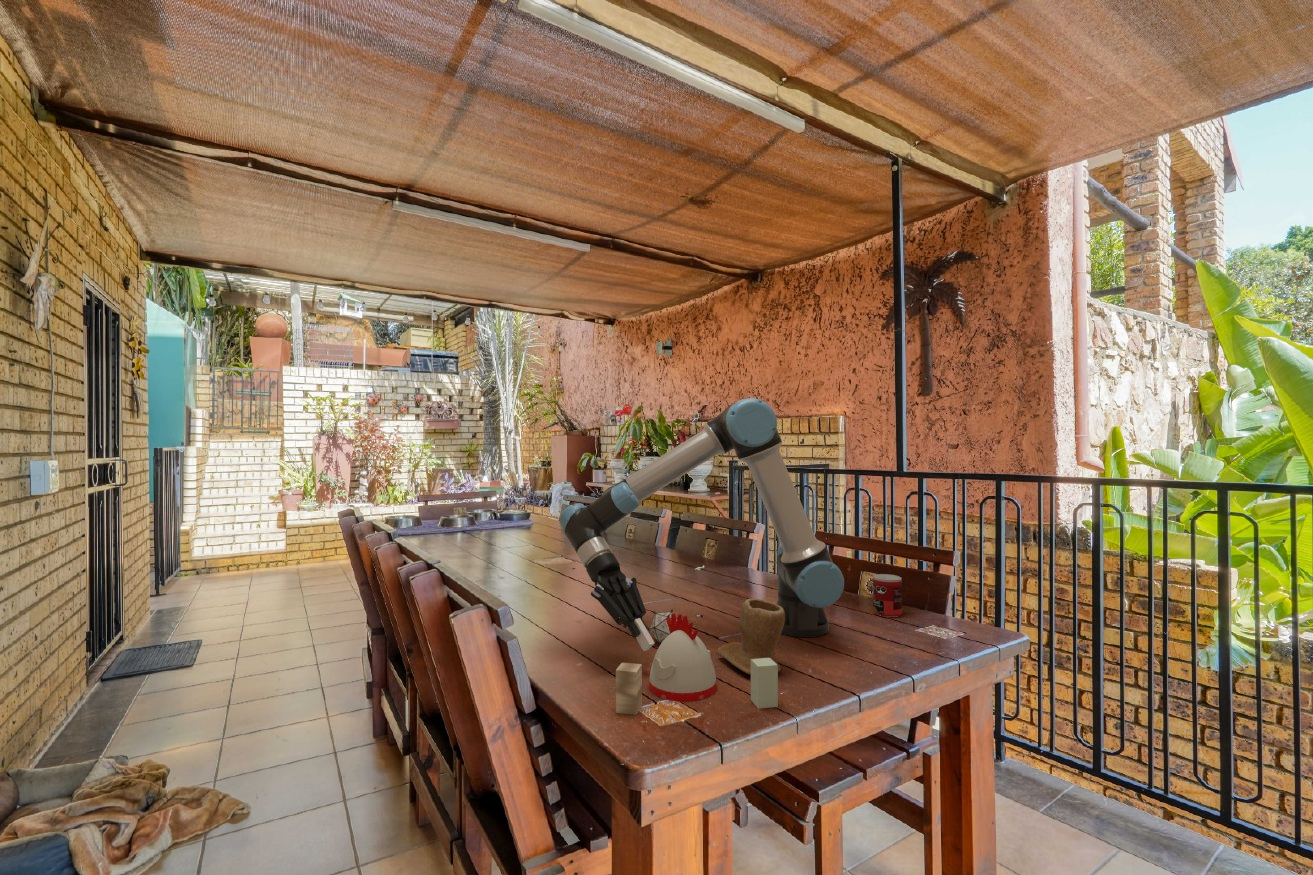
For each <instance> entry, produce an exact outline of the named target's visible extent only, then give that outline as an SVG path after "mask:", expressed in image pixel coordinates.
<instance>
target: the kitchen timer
mask: <svg viewBox="0 0 1313 875" xmlns="http://www.w3.org/2000/svg"><path fill="white" fill-rule="evenodd" d="M672 613H673V614H671V619H670V618H666V620H667V624H668V627H669V630H670V633H671V634H669V635H668V636H667V637H666V638H665V639H664V640H663V642H660V644H659V645H658V646H659V647H658V648H657V651H656V652H655V655H654V658H653V660H652V665H651V668H650V672H649V678H648V680H649V682H648V683H649V691H650V692H651V693H653V695H654V696H657V697H658V698H661V699H664V700H668V701H674V702H693V701H699V700H704V699H706V698H709V697H711V696H712V695H713V694H714V693H715V692H716V690H717V675H716V670H715V667H714V663H713V660H712V656H711V655H712V654H711V650H710V649H707V647H706V645H705V643H704V642H703V640H702V639H700V637H699V636H698V633H699V629H695V630H694V631H693V625H694V622H689V621H688V615H683V614H682V613H680V614H678V615H677V616H676V613H674V612H672ZM682 616H683V617H682ZM676 619H677V620H676ZM688 622H689V623H688Z"/></svg>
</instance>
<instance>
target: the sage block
mask: <svg viewBox="0 0 1313 875" xmlns="http://www.w3.org/2000/svg"><path fill="white" fill-rule="evenodd" d="M778 674H779V672H778V665H777V664H776V663H775V662H774V661H773V660H772V659H771V658H760V659H751V675H750V701H751V702H752V703H753V704H754V706H755V707H756V708H757V709H758V710H759V709H771V708H778V707H779V680H778V679H779V675H778Z"/></svg>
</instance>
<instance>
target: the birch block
mask: <svg viewBox="0 0 1313 875" xmlns="http://www.w3.org/2000/svg"><path fill="white" fill-rule="evenodd" d="M642 666H643V665H642V664H641V663H632V662H631V663H630V662H621V663H620V664H619V665H618V667H617V668H616V669H615V713H616V714H623V715H635V716H637V715H638V713H639V711H640V710H641V709H642V706H643V667H642Z"/></svg>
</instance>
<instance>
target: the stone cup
mask: <svg viewBox="0 0 1313 875" xmlns="http://www.w3.org/2000/svg"><path fill="white" fill-rule="evenodd" d="M739 615H740V616H739V628H740V636H741V637H740V638H741V642H729V643H725V644H723V645H721V646H719V647H718V649H717V652H718V653H719V654H720V655H721V656H722V657H723V658H724V659H726V660H727V661H728V662H729V663H730V664H731V665H732V666H734V667H736V668H738V670H741V672H743V673H746V674H747V675H750V676H751V659H760V658H771V659H772V660H773V661H774V662H775V663H776V664H777V665H778V673H779V672H780V671H781V669H782V666H781V665H780V664H779V662H778V661H777V659H775V649H776V647H777V645H778V642H779V639H780V637H781V635H782V634H781V632H782V630H783V627H784V623H785V612H784V609H783V608H782V607H781V606H779V605H777V604H776V603H774V602H771V601H768V600H764V599H759V598H748V599H745V601H743V603H742V604H741V608H740V614H739Z"/></svg>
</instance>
